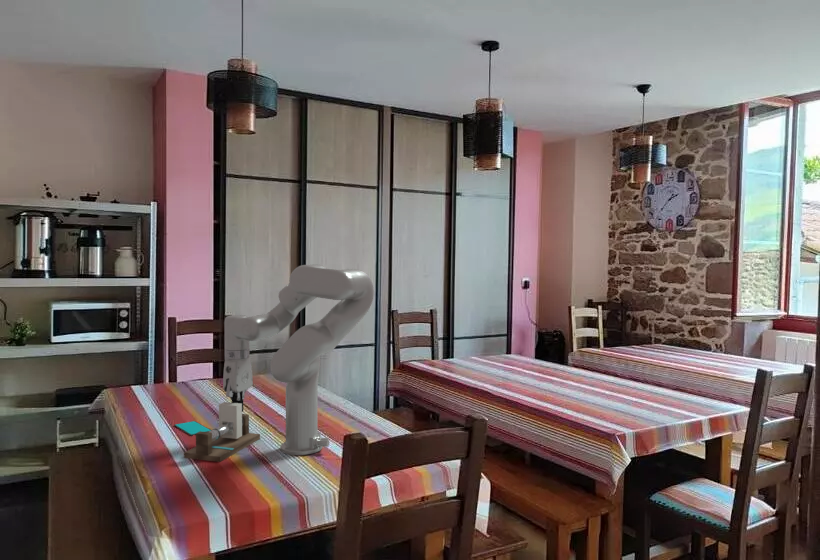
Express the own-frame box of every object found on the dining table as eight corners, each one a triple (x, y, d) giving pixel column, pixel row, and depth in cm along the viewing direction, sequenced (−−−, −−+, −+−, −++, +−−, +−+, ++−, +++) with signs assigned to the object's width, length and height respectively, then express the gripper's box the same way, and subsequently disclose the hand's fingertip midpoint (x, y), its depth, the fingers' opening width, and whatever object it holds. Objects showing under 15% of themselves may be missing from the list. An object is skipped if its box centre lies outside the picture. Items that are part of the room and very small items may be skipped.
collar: (242, 435, 184) (241, 403, 183) (236, 438, 181) (236, 405, 180) (224, 434, 185) (224, 402, 185) (219, 436, 183) (218, 404, 182)
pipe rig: (260, 438, 189) (260, 415, 188) (220, 461, 168) (220, 435, 167) (227, 435, 192) (226, 412, 192) (183, 457, 171) (183, 432, 170)
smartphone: (190, 434, 191) (173, 424, 202) (190, 437, 191) (173, 427, 202) (212, 430, 196) (195, 420, 207) (212, 433, 196) (195, 423, 207)
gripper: (234, 359, 178) (234, 419, 178) (260, 351, 192) (260, 407, 193) (212, 357, 180) (213, 417, 181) (239, 350, 194) (240, 405, 195)
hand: (237, 411), depth 187 cm, fingers closed
